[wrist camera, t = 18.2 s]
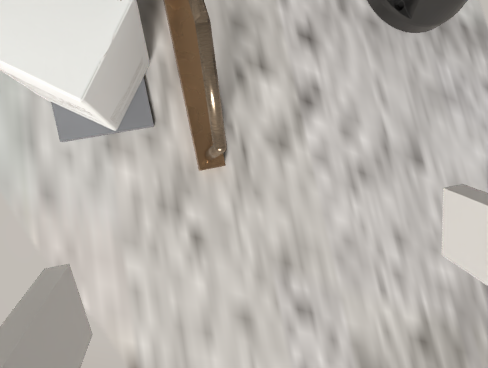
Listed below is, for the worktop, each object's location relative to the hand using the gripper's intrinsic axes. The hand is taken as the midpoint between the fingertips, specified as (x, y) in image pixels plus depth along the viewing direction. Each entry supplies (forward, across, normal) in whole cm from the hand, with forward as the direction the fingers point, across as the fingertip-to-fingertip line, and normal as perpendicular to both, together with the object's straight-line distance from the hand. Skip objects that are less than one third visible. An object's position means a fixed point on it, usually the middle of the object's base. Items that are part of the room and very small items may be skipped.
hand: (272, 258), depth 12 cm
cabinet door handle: (+33, -1, +7) cm, 34 cm away
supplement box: (+32, -11, +8) cm, 35 cm away
